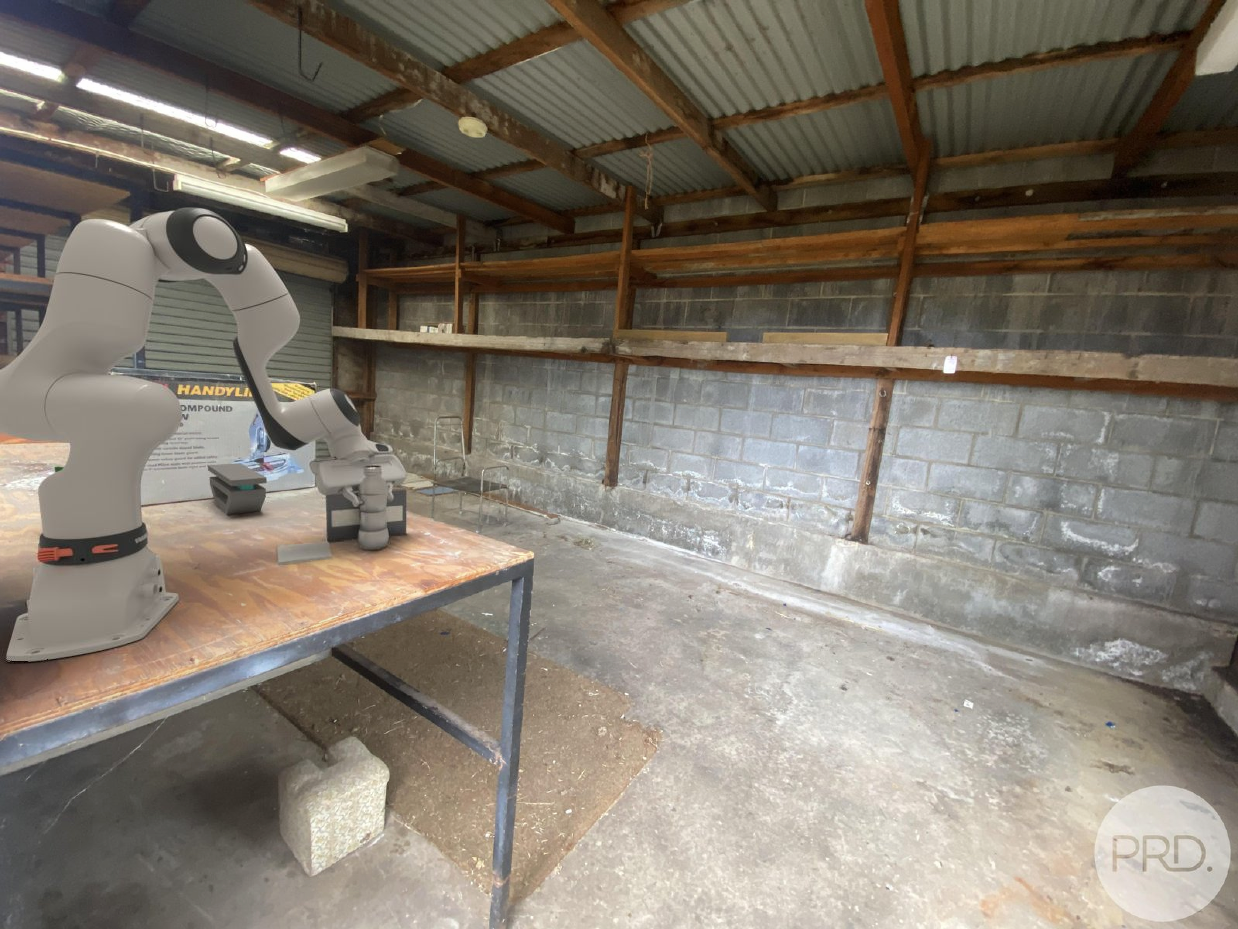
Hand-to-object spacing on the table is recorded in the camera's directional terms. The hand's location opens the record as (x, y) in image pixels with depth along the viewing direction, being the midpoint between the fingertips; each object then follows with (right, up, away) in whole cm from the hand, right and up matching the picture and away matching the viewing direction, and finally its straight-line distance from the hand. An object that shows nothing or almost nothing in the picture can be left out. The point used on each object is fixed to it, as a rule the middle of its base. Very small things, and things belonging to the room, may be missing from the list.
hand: (374, 502), depth 118 cm
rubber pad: (-14, -11, -4) cm, 18 cm away
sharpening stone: (-52, -4, +26) cm, 58 cm away
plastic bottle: (-1, -11, +2) cm, 12 cm away
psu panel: (-6, -10, +9) cm, 15 cm away
